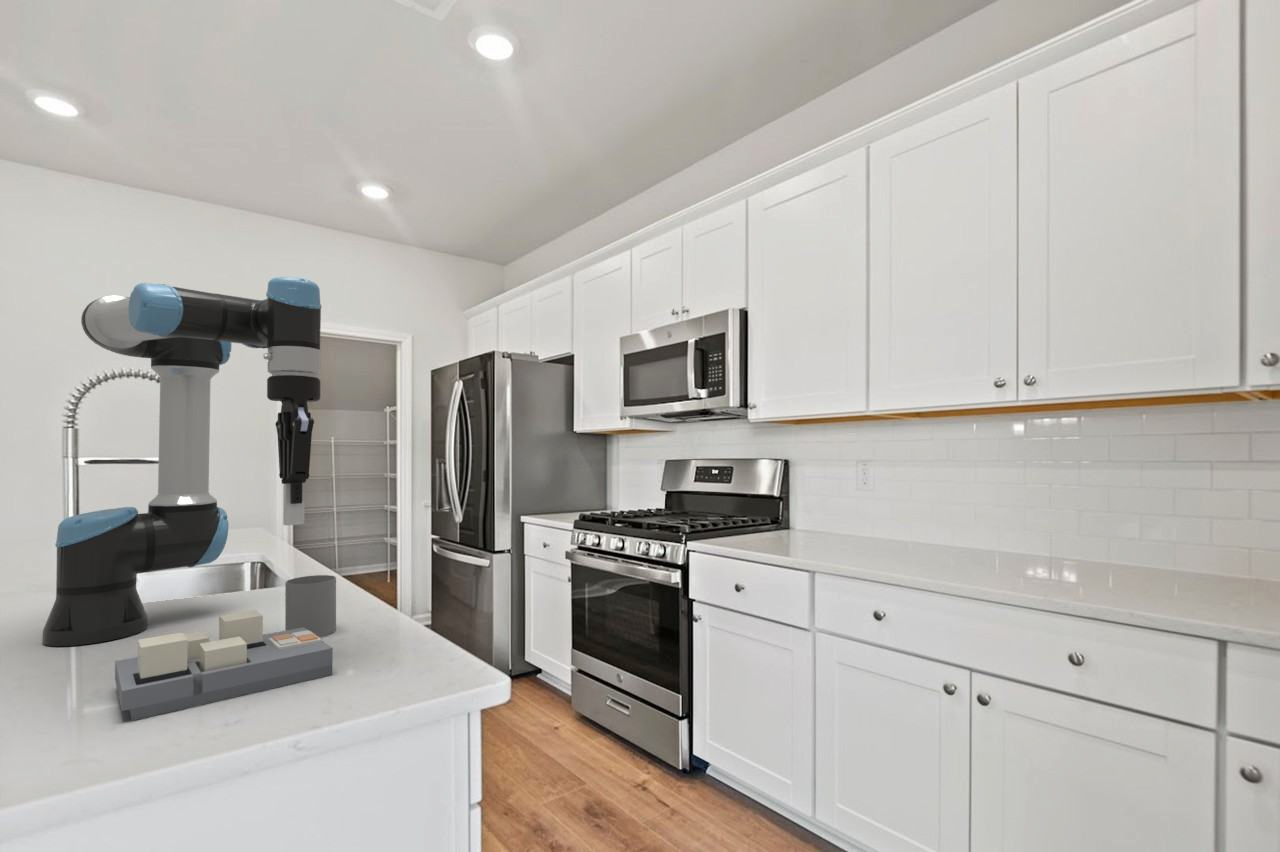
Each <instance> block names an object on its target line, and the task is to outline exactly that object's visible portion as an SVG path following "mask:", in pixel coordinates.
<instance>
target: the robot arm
mask: <svg viewBox="0 0 1280 852" xmlns="http://www.w3.org/2000/svg"><path fill="white" fill-rule="evenodd" d="M320 292H321V291H320V287H319V285H318V284H317V283H315V282H314V281H311V280H310V279H307V278H306V279H305V278H301V277H300V278H299V277H295V276H278V277H273V278H271V279H270V280H268V282H267V291H266V293H265V294H266V295H265V296H266V298H265V299H263V300H262V299H261V300H259V299H253V298H247V297H241V296H240V297H239V296H235V295H234V296H233V295H228V294H227V295H226V294H220V293H213V292H207V291H201V290H195V289H189V288H183V287H177V286H173V285H172V286H171V285H169V284H162V283H150V282H149V283H147V282H140V283H137V284H136V285H135V286H134V287H133V290H132V291H131V292H130V296H121V295H109V296H108V295H106V296H103V297H100V298H97V299H95V300H93V301H91V302H90V303H88V304H87V305H86V307H85V308H84V310H83V311H82V313H81V314H82V315H81V320H80V321H81V327H82V330H83V331H84V332H83V333H84V334H85V335H86V336H87V337H88V339H89V340H90V341H92V342H93V343H94V344H96V345H98V347H101V348H102V349H105V350H107V351H110V352H112V353H115V354H118V355H122V356H127V357H133V358H140V359H141V358H144V359H150V368H151V370H152V371H154V372H155V374H157V375H158V376H159V380H160V381H159V415H158V416H159V417H158V418H159V420H158V421H159V422H158V423H159V425H158V426H159V428H158V432H159V433H158V467H157V469H158V471H157V473H158V475H157V476H158V477H157V478H158V480H157V495H156V496H155V497H154V498H152V499H151V500H150V501H149V502H148V506H147V507H148V508H147V509H148V512H146V513H139V510H138V508H136V507H134V506H127V507H126V506H125V507H117V508H108V509H102V510H93V511H90V512H89V511H88V512H84V513H79V514H76V515H71V516H68V517H66V518H64V519H63V520H62V521H61V522H60V523H59V524H58V527H57V533H56V543H55V544H54V545H55V547H56V580H55V581H56V589H55V590H56V591H55V592H56V593H55V600H54V603H53V605H52V608H51V611H50V613H49V615H48V617H47V620H46V623H45V625H44V627H43V631H42V644H43V645H45V646H50V647H70V646H72V647H73V646H83V645H89V644H91V645H92V644H98V643H103V642H109V641H114V640H118V639H122V638H127V637H130V636H132V635H136V634H139V633H141V632H143V631H145V630H147V628H148V615H147V612H146V610H145V608H144V604H143V602H142V600H141V598H140V595H139V593H138V590H137V574H143V573H150V572H158V571H164V570H171V569H179V568H194V567H196V566H201V565H207V564H211V563H212V562H214V561H216V560H217V559H218V558H219V557H220V556H221V554H222V553H223V551H224V549H225V546H226V543H227V541H228V537H229V520H228V514H227V512H226V510H225V509H223V508H222V507H220V506H218V501H217V500H218V499H217V498H215V497H214V496H213V495H212V494H210V492H209V490H210V489H209V487H210V480H209V479H210V478H209V477H210V438H211V437H210V435H211V433H210V430H211V427H210V426H211V380H212V378H213V377H214V376H215V375H217V374H219V372H220V366H221V365H224V364H226V363H227V362H229V360H230V358H231V352H232V344H233V343H234V344H242V345H243V346H245V347H248V348H250V349H251V348H252V349H267V352H265V353H263V359H264V360H268V361H267V372H268V373H269V374H270V376H269V377H268V378H266V379H267V380H266V383H267V385H266V397H267V399H268V400H269V401H274V402H281V406H280V407H281V408H280V412H278V413H277V420H276V421H275V427H276V435H277V447H278V448H277V450H278V451H277V452H278V468H279V474H278V475H279V478H280V479H281V484H282V485H283V488H282V489H283V491H282V492H283V493H282V495H283V497H282V498H283V499H282V501H283V502H282V503H283V504H282V505H283V507H282V508H283V510H282V511H283V513H282V515H283V517H282V521H283V522H282V523H283V526H295V525H297V526H298V525H305V507H306V506H305V502H306V501H305V497H306V496H305V494H306V493H305V492H306V490H305V487H306V486H305V485H306V484H305V483H306V481H307V480H308V479H310V466H311V465H310V463H311V453H312V452H311V450H312V435H313V434H312V433H313V429H314V424H315V419H314V418H313V417H311V412H309V407H308V403H312V402H319V401H320V400H321V379H319V377H317V376H319V375H321V374H322V366H321V365H322V363H321V362H322V354H321V324H322V323H321V319H322V318H321V316H322V315H321V314H322V313H321V312H322V310H321V309H322V304H321V293H320Z"/></svg>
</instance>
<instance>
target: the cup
mask: <svg viewBox="0 0 1280 852" xmlns="http://www.w3.org/2000/svg"><path fill="white" fill-rule="evenodd" d="M284 587H285V593H284V594H285V595H284V596H285V607H284V609H285V613H284V614H285V615H284V617H285V619H284V620H285V630H284V631H286V630H292V629H297V628H303V627H304V628H305V629H307V630H309V631H311V632H312V633H314V634H315V635H316V636H318V637H319V638H324V637H327V636H330V635H332V634H334V633H335V632H336V631H337V576H334V575H328V574H324V575H323V574H318V575H317V574H315V575H308V576H307V575H306V576H305V575H304V576H301V577H294V578H291V579H288V580H287V581H285V586H284Z"/></svg>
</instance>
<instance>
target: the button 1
mask: <svg viewBox="0 0 1280 852" xmlns="http://www.w3.org/2000/svg"><path fill="white" fill-rule="evenodd" d="M184 634H185V633H184V632H177V633H171V634H164V635H157V636H153V637H147V638H139V639H137V657H138V672H139V675H140V678H141V679H142V678H147V677H152V676H157V675H162V674H167V673H172V672H177V671H183V670H187V638H186V637H185V635H184Z"/></svg>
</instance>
